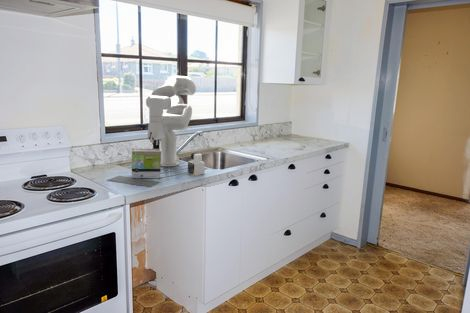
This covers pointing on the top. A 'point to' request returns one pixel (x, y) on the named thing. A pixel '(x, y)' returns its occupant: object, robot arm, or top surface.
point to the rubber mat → (134, 181)
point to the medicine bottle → (196, 164)
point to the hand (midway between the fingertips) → (156, 151)
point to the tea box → (146, 163)
